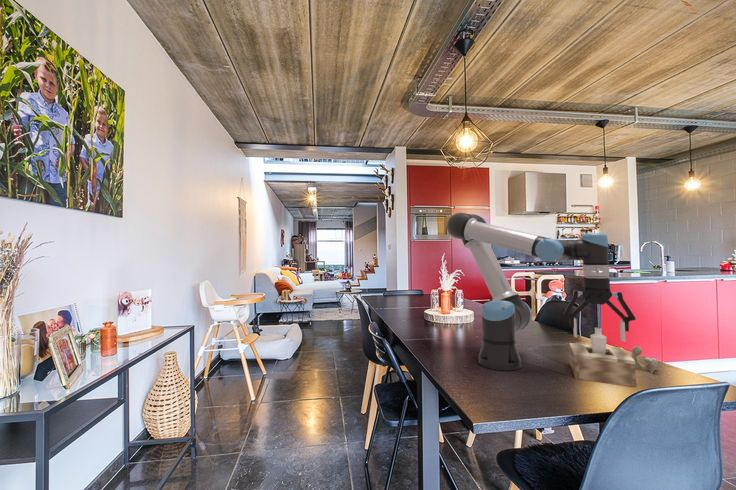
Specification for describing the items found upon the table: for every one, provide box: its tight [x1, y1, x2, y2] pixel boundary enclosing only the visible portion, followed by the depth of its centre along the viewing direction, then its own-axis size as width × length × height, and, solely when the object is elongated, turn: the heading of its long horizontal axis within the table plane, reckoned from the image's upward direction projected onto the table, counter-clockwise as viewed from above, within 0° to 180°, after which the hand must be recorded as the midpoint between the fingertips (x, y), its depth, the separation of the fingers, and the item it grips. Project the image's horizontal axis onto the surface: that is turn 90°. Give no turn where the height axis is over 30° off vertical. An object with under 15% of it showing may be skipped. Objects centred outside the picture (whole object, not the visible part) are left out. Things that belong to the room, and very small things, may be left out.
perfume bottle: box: [589, 327, 607, 355], centre depth 110 cm, size 5×4×15 cm
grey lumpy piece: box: [631, 345, 660, 374], centre depth 114 cm, size 9×6×10 cm
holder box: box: [568, 342, 637, 388], centre depth 110 cm, size 16×16×8 cm
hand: (598, 338), depth 111 cm, fingers open, 13 cm apart
